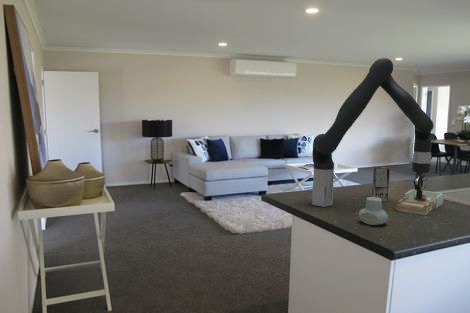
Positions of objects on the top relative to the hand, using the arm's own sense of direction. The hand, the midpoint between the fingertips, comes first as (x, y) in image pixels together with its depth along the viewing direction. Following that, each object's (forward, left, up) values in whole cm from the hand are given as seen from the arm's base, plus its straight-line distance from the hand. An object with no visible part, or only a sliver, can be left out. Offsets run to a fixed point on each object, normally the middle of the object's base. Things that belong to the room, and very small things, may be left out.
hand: (419, 198), depth 174 cm
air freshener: (-38, +7, -4) cm, 39 cm away
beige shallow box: (-6, 0, -4) cm, 7 cm away
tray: (+8, 0, -4) cm, 9 cm away
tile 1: (+3, 0, -2) cm, 3 cm away
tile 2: (+9, 0, -2) cm, 10 cm away
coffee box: (+4, +19, -4) cm, 20 cm away
